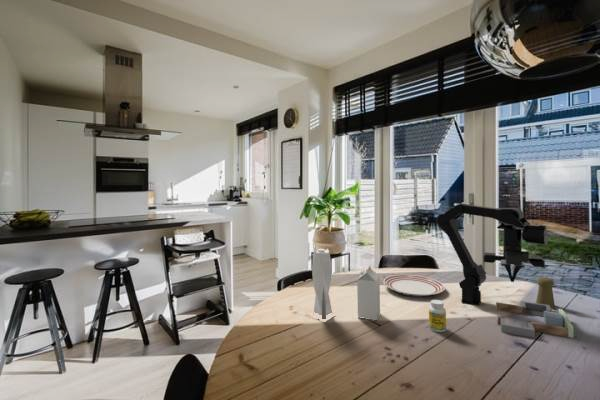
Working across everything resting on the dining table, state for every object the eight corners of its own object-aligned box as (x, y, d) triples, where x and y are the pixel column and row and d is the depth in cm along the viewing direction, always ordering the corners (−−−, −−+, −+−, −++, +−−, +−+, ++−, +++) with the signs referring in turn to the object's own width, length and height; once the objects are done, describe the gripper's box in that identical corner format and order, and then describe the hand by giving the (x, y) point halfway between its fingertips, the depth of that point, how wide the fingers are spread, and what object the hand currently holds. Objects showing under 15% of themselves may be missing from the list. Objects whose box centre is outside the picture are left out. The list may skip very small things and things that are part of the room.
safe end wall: (568, 336, 97) (568, 326, 97) (558, 318, 110) (558, 308, 110) (573, 337, 97) (573, 327, 96) (562, 318, 110) (562, 309, 110)
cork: (558, 308, 118) (559, 280, 118) (541, 307, 120) (541, 280, 119) (549, 302, 124) (549, 276, 124) (532, 301, 125) (532, 275, 125)
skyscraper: (307, 317, 118) (305, 246, 117) (320, 310, 124) (319, 242, 122) (324, 323, 112) (322, 248, 111) (337, 316, 118) (335, 245, 117)
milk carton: (380, 313, 118) (379, 265, 117) (376, 321, 112) (375, 270, 111) (362, 311, 121) (361, 264, 120) (357, 318, 115) (356, 269, 114)
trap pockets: (501, 331, 102) (501, 324, 102) (497, 303, 125) (498, 297, 125) (565, 343, 93) (565, 335, 93) (549, 311, 116) (549, 305, 116)
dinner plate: (448, 285, 149) (448, 278, 148) (440, 305, 125) (440, 297, 125) (392, 277, 163) (392, 271, 163) (375, 293, 140) (375, 286, 140)
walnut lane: (497, 324, 107) (497, 317, 107) (496, 308, 120) (496, 302, 120) (568, 336, 97) (568, 329, 97) (558, 318, 110) (558, 311, 110)
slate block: (545, 326, 104) (546, 315, 104) (543, 321, 108) (543, 310, 108) (562, 329, 102) (563, 318, 102) (560, 324, 106) (560, 313, 106)
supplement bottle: (444, 326, 107) (444, 299, 106) (447, 333, 102) (447, 305, 101) (428, 324, 108) (428, 298, 108) (429, 331, 103) (429, 304, 103)
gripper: (483, 243, 113) (483, 284, 113) (547, 247, 103) (547, 292, 104) (483, 238, 122) (483, 276, 123) (542, 241, 113) (541, 282, 113)
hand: (512, 281), depth 116 cm, fingers closed
